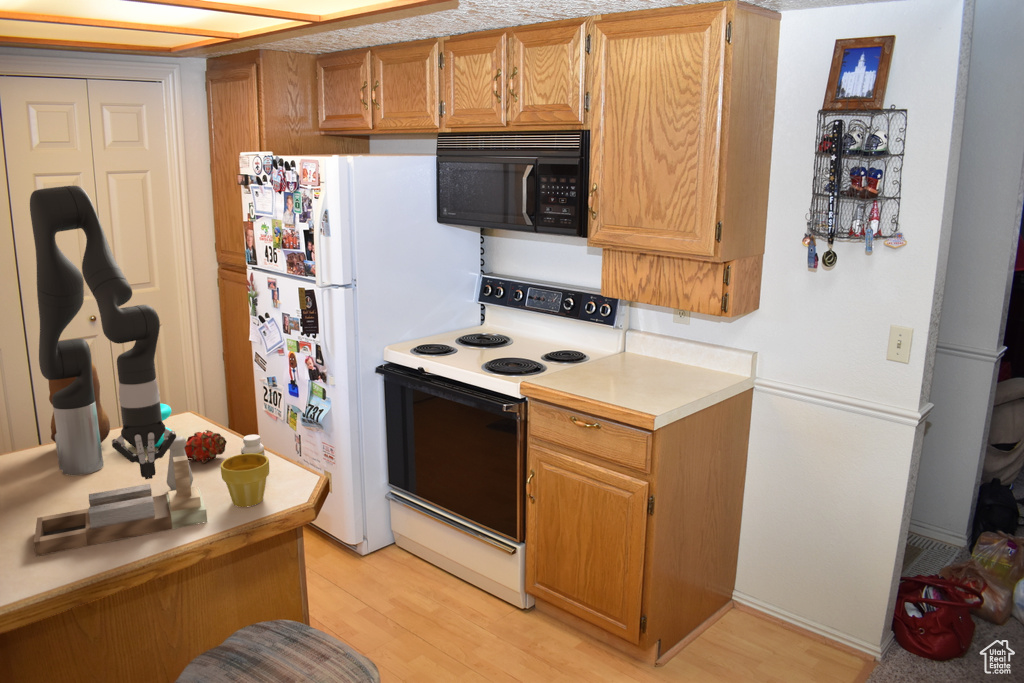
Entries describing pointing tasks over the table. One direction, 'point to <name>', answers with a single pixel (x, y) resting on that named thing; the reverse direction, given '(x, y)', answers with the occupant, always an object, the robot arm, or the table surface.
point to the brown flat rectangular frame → (109, 527)
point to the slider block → (183, 487)
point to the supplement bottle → (252, 445)
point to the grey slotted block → (121, 506)
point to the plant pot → (245, 478)
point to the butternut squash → (101, 414)
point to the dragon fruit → (204, 446)
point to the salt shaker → (175, 451)
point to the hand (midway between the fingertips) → (148, 477)
